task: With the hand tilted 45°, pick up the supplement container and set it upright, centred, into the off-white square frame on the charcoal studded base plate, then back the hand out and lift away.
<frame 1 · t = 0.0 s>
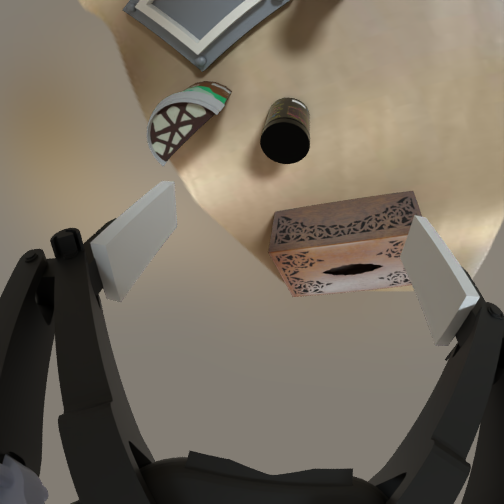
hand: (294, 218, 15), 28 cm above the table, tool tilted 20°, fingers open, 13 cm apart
tissue box cover: (349, 226, 53), on the table
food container: (196, 96, 37), on the table
supplement container: (289, 113, 37), on the table
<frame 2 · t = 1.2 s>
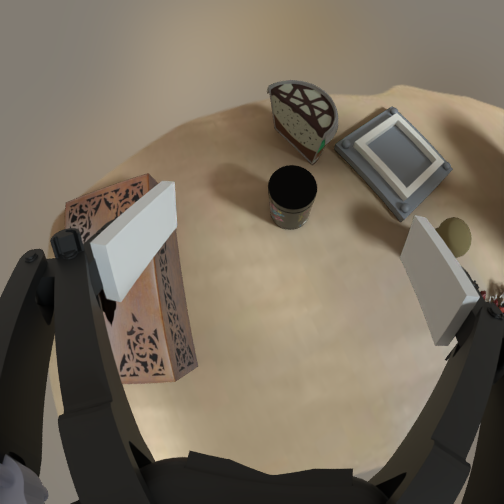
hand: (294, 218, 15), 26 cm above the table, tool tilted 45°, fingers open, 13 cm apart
toy collection: (490, 318, 35), on the table
tissue box cover: (141, 288, 42), on the table
cork: (422, 252, 39), on the table
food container: (306, 137, 44), on the table
base plate: (396, 159, 42), on the table
supplement container: (289, 212, 42), on the table
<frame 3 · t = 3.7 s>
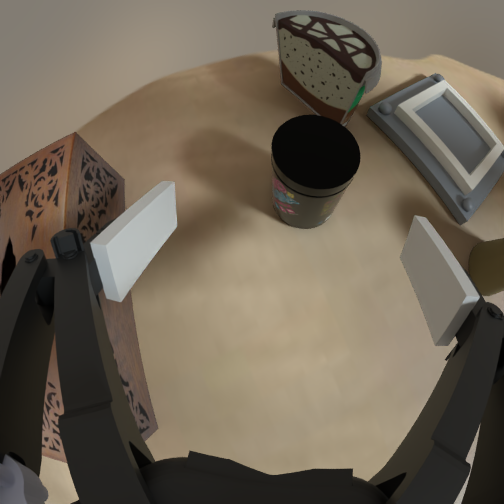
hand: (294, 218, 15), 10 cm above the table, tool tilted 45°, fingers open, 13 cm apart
tissue box cover: (78, 309, 26), on the table
cork: (485, 269, 23), on the table
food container: (327, 97, 28), on the table
base plate: (448, 139, 26), on the table
supplement container: (303, 201, 26), on the table
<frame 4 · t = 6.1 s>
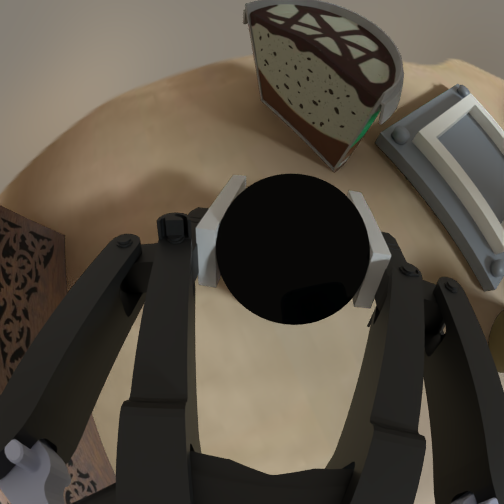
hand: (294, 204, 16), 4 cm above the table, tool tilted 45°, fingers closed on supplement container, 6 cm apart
tissue box cover: (35, 381, 19), on the table
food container: (322, 118, 22), on the table
base plate: (475, 172, 20), on the table
supplement container: (284, 276, 19), on the table, touching gripper
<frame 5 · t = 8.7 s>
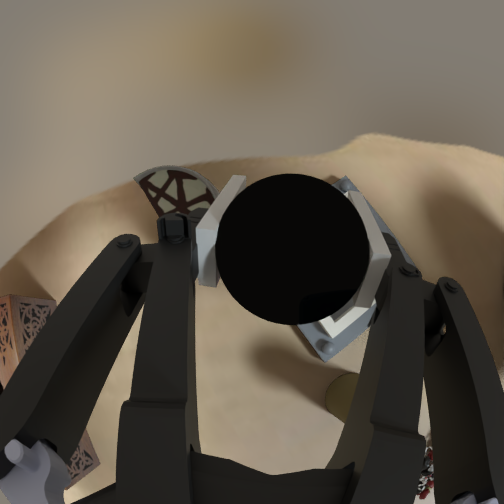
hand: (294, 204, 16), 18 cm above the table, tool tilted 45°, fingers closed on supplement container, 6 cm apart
toy collection: (427, 458, 26), on the table
tissue box cover: (44, 386, 31), on the table
cork: (348, 395, 30), on the table
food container: (207, 231, 35), on the table
base plate: (336, 265, 33), on the table
supplement container: (283, 276, 19), point 14 cm above the table, touching gripper
when the fingers open (6 cm above the table, at t = 11.7 s): supplement container stays where it is, resting on base plate.
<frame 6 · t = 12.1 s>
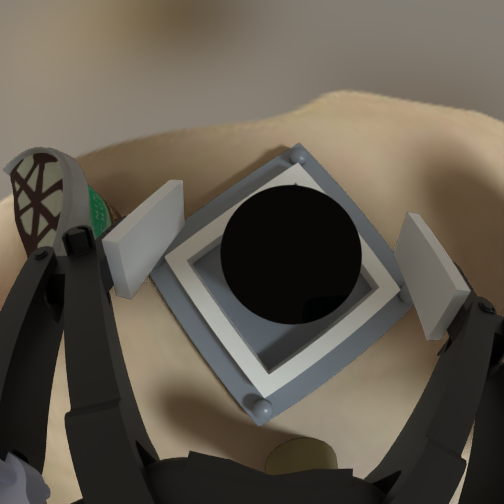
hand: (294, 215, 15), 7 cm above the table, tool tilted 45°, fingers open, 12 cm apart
cork: (301, 465, 18), on the table
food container: (108, 232, 24), on the table
base plate: (282, 280, 22), on the table
supplement container: (282, 278, 20), point 1 cm above the table, touching base plate
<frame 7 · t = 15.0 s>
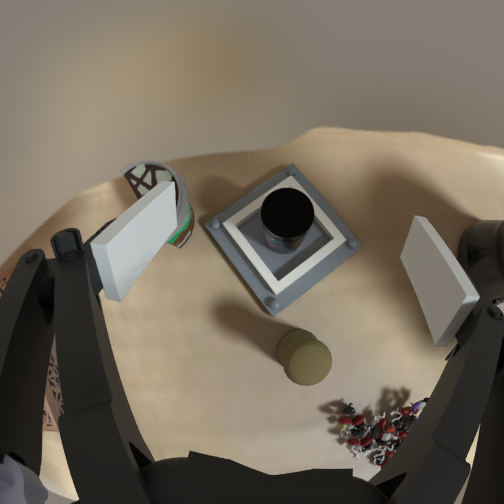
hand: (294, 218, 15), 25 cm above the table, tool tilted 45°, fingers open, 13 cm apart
toy collection: (383, 428, 34), on the table
tissue box cover: (46, 350, 39), on the table
cork: (298, 350, 37), on the table
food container: (180, 213, 42), on the table
base plate: (283, 237, 40), on the table
supplement container: (283, 234, 39), point 1 cm above the table, touching base plate
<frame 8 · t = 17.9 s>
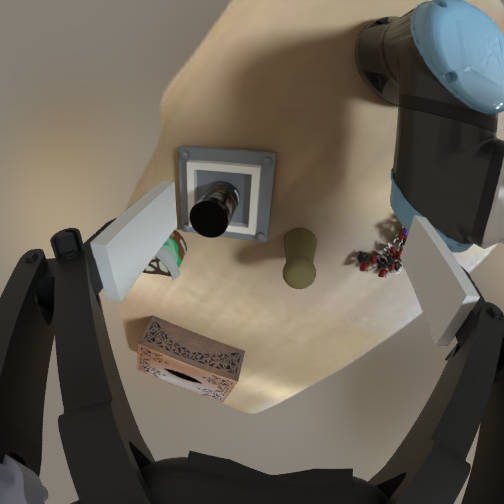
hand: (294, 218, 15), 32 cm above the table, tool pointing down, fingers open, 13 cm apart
toy collection: (401, 245, 49), on the table
tissue box cover: (193, 347, 75), on the table
cork: (300, 242, 52), on the table
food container: (164, 233, 55), on the table
base plate: (225, 192, 48), on the table
supplement container: (224, 195, 47), point 1 cm above the table, touching base plate
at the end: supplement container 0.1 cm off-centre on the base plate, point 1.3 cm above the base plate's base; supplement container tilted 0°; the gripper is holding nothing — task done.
